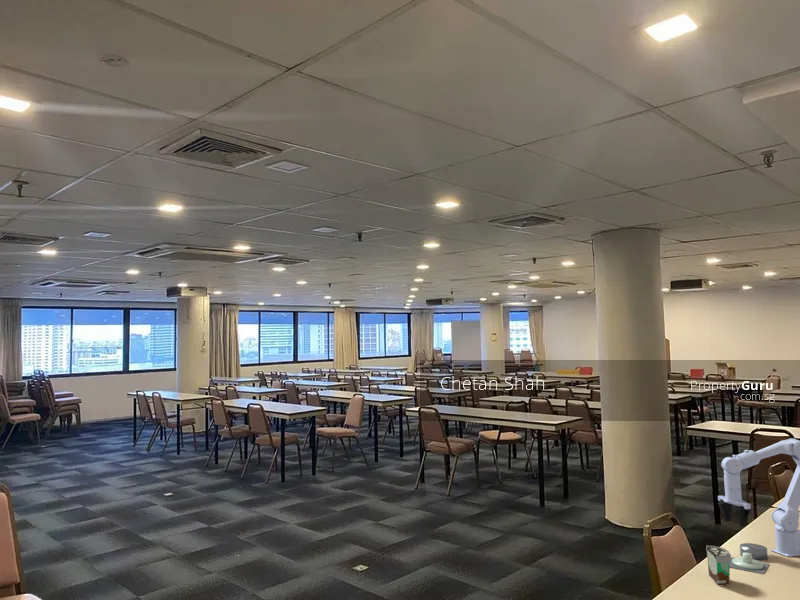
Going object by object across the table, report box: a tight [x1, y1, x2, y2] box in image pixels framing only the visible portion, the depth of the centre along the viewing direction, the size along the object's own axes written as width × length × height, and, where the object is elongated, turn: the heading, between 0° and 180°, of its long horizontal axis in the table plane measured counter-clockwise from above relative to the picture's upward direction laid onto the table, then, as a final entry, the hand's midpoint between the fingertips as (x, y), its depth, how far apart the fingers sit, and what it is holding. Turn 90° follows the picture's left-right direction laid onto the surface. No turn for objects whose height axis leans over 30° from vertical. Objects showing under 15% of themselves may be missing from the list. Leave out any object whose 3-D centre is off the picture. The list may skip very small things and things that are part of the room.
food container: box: [705, 545, 732, 586], centre depth 203 cm, size 12×6×10 cm, turn 168°
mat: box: [730, 556, 770, 575], centre depth 217 cm, size 12×12×1 cm
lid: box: [732, 552, 764, 570], centre depth 217 cm, size 10×10×4 cm
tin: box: [739, 542, 769, 561], centre depth 227 cm, size 9×9×4 cm
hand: (735, 523), depth 234 cm, fingers open, 7 cm apart
